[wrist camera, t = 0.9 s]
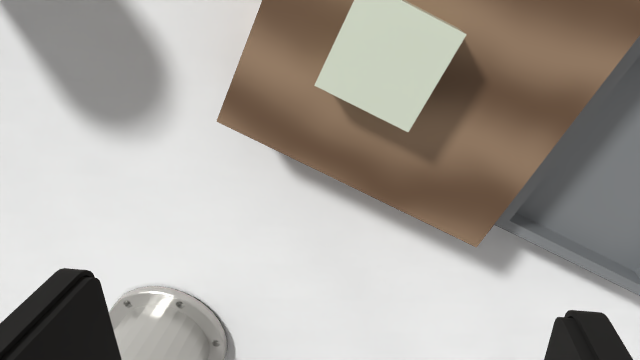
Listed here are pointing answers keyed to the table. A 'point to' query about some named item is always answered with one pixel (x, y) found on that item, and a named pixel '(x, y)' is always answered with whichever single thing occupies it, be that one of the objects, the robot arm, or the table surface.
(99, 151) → the table surface
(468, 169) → the brown slab
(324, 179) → the table surface
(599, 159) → the bin
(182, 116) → the table surface
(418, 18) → the tile
